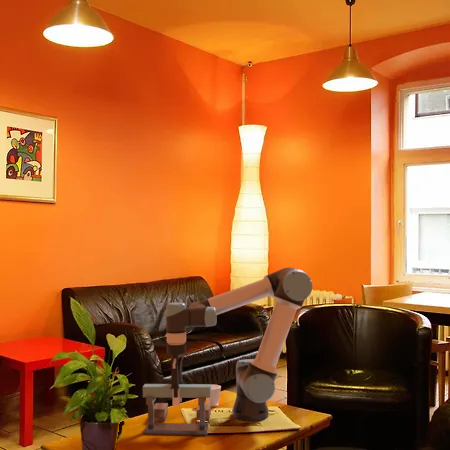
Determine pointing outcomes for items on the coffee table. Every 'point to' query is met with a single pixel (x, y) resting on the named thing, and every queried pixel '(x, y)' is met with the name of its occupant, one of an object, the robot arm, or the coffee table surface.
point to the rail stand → (176, 427)
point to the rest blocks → (162, 412)
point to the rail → (185, 390)
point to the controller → (120, 428)
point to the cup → (214, 395)
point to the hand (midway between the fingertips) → (177, 403)
